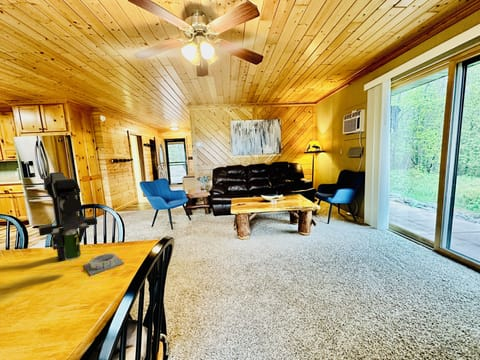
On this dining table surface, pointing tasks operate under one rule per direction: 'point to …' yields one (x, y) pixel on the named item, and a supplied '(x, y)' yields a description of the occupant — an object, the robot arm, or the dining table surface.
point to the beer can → (71, 244)
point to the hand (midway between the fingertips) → (71, 244)
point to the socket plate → (93, 272)
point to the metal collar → (105, 264)
